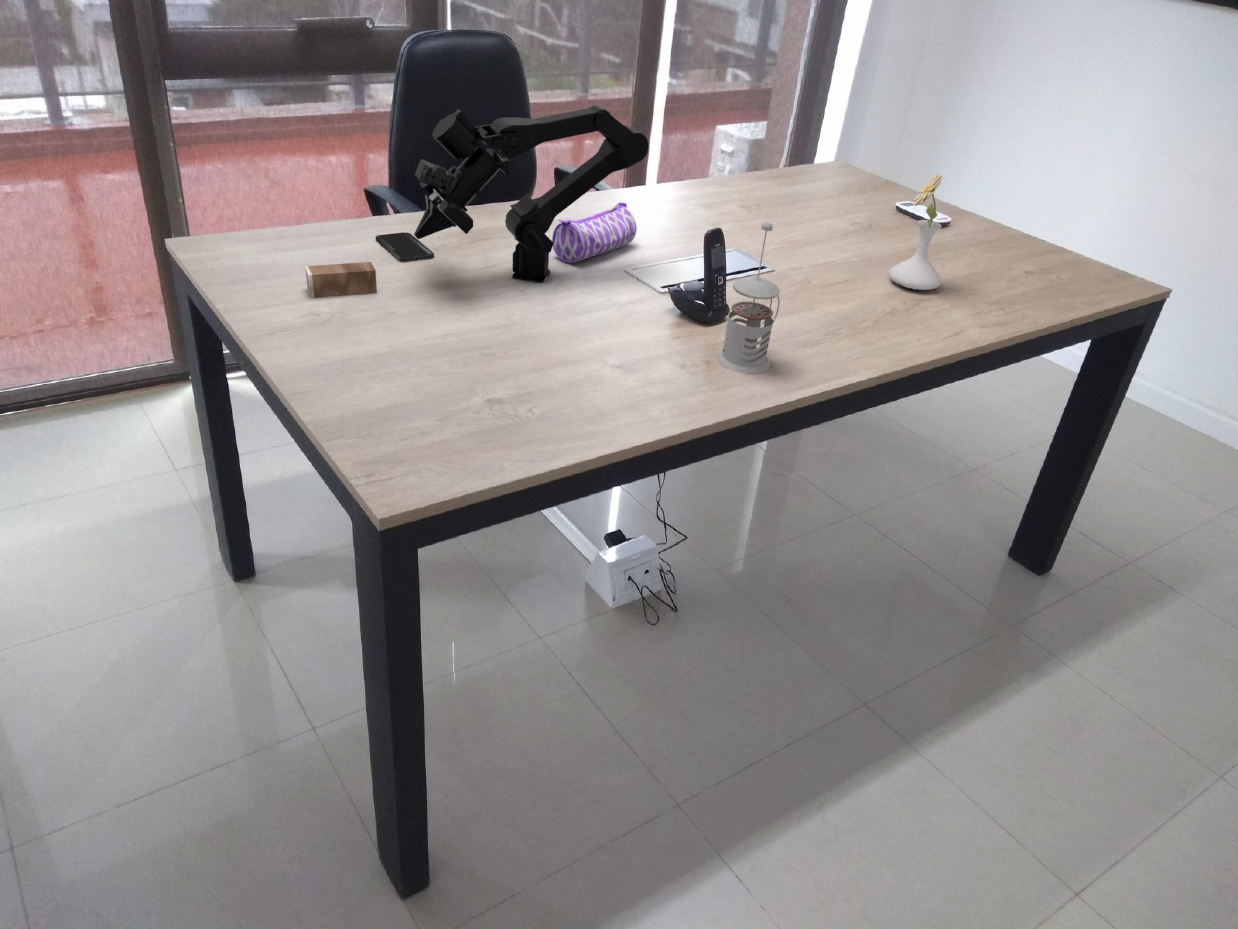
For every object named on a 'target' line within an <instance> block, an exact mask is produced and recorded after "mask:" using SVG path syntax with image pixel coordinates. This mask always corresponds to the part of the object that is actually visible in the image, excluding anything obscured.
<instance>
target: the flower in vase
mask: <svg viewBox="0 0 1238 929" xmlns="http://www.w3.org/2000/svg"><path fill="white" fill-rule="evenodd" d="M942 174H943V173H940V174H939V172H936V173H935V174H934V175H933V177H932V178H931V177H928V179H926V182H925V183H924V184H923V187H920V188H919V189H918V191H917V193H918V194H916V196H915V197H914V198H913V200H912V201H913V202H914V203H913V206H915V207H917V206H921V204H924V203H925V202H926V201H928V200H929V198H930V197H932V201H933V202H932V203H930V205H928V207H926V214H927V215H928V217H929V220H927V219H920V220H918V221H917V225H918V228H919V241H918V245H917V249H916V251H915V253H914V254H913V255H912V256H911V257H910V258H908V259H905V260H904V261H902V262H901V261H900V263H897V264H895V265H894V266H892V267H891V268H890V270H889V271H888V276H889V279H890V280H891V281H893V282H894V283H896V284H897V285H899V284H900V285H899V286H901V285H902V287H903V288H904V287H905V288H908V289H911V288H912V290H917V289H918V291H930V290H934V289H937V288H939V287H940V286H941V284H942V278H941V276H940V274H939V272H938V271H937V270H936V269H935V267H934V266H933V265H932V264H931V263H930V261H929V259H928V251H929V248H930V244H931V242H932V239H933V237H934V236H935V234H936V233H937V231H938V230H940V229H941V228H942V224H940V223H939V222H937V221H935V220H934V219H935V218H937V217H938V213H937V209H936V207H937V206H936V205H937V204H936V199H935V198H936V197H935V192H936V191H937V189H938V188H939V187H940V186H941V182H942V180H943V175H942Z"/></svg>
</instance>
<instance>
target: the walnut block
mask: <svg viewBox="0 0 1238 929" xmlns="http://www.w3.org/2000/svg"><path fill="white" fill-rule="evenodd" d="M304 268H305V278H306V285H307V286H306V288H308V289H307V292H308V291H309V292H308V294H309V297H310V296H311V297H310V299H318V298H319V297H320V298H331V296H333V297H344V296H357V295H368V294H377V293H378V289H377V287H378V286H377V271H376V268H375V267H374V264H372V261H363V262H350V263H349V262H348V263H332V264H331V263H330V264H322V265H321V264H318V265H305V266H304ZM343 295H344V296H343ZM328 296H330V297H328ZM320 298H319V299H320Z"/></svg>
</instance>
